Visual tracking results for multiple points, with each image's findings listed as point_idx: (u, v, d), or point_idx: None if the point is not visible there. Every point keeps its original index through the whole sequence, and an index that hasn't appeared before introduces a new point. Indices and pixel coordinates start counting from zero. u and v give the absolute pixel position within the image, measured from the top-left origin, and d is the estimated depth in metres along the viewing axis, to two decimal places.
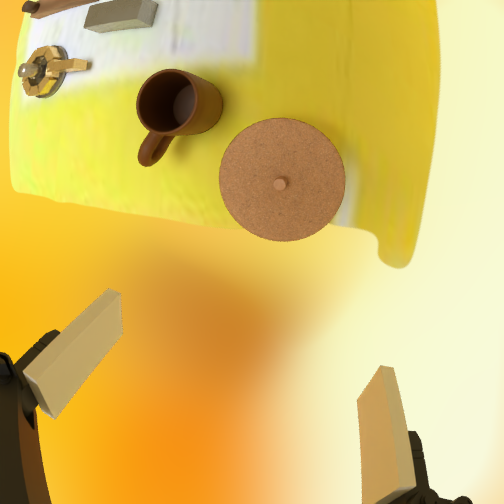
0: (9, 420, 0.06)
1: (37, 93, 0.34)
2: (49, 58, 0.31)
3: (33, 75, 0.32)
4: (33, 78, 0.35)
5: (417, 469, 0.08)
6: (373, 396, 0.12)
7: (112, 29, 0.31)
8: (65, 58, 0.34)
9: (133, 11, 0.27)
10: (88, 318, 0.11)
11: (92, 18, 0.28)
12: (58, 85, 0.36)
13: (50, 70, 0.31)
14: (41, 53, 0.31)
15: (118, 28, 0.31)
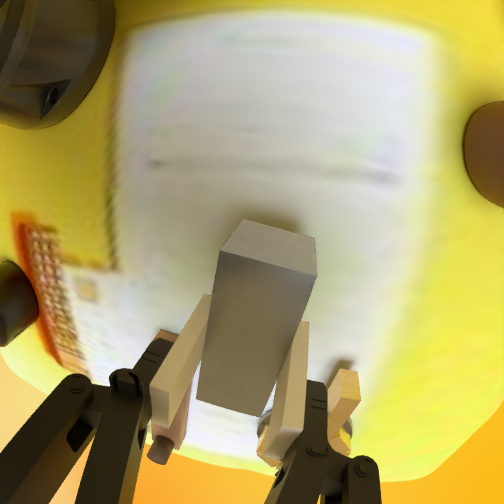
0: (120, 441, 0.07)
1: (347, 453, 0.23)
2: None
3: None
4: None
5: (315, 418, 0.10)
6: None
7: None
8: None
9: (279, 287, 0.12)
10: (198, 324, 0.13)
11: (241, 398, 0.15)
12: None
13: (330, 438, 0.21)
14: None
15: None
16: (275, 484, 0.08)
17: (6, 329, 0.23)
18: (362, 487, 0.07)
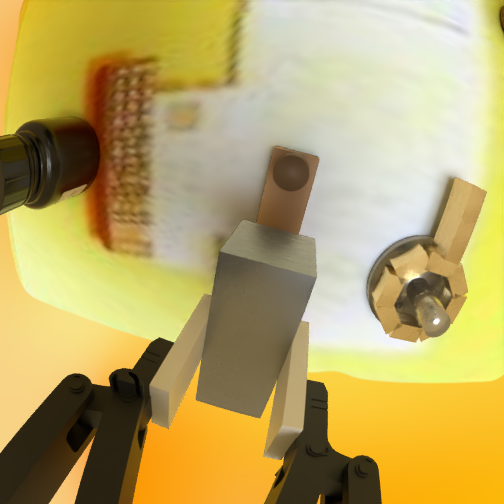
0: (120, 441, 0.07)
1: (464, 298, 0.22)
2: (422, 265, 0.22)
3: None
4: (416, 318, 0.25)
5: (316, 418, 0.10)
6: None
7: None
8: (418, 238, 0.24)
9: (279, 288, 0.12)
10: (198, 324, 0.13)
11: (241, 399, 0.15)
12: None
13: (461, 253, 0.20)
14: (396, 290, 0.23)
15: None
16: (275, 484, 0.08)
17: (60, 172, 0.21)
18: (362, 487, 0.07)
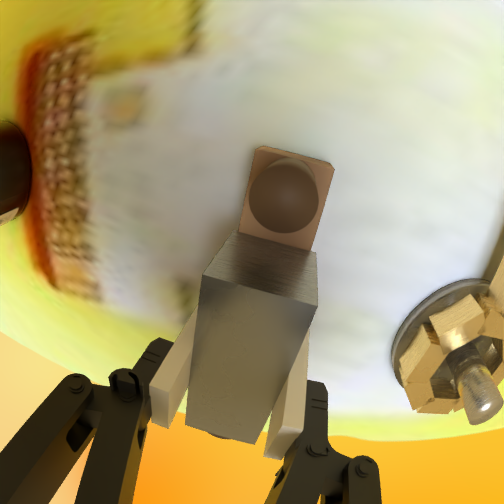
0: (120, 441, 0.07)
1: None
2: (475, 329, 0.13)
3: None
4: (451, 384, 0.17)
5: (316, 418, 0.10)
6: None
7: None
8: (469, 284, 0.15)
9: (273, 317, 0.10)
10: None
11: (233, 426, 0.13)
12: None
13: None
14: (435, 362, 0.14)
15: None
16: (275, 484, 0.08)
17: None
18: (362, 487, 0.07)
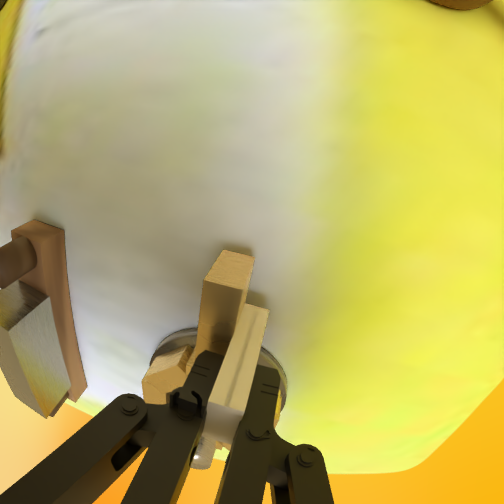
0: (173, 460, 0.07)
1: (274, 420, 0.16)
2: (179, 379, 0.16)
3: None
4: None
5: (264, 403, 0.10)
6: None
7: (57, 369, 0.18)
8: (196, 333, 0.18)
9: (0, 333, 0.13)
10: (244, 335, 0.13)
11: (29, 401, 0.16)
12: (270, 361, 0.18)
13: None
14: (160, 398, 0.17)
15: (53, 360, 0.18)
16: (224, 471, 0.08)
17: None
18: (307, 478, 0.07)
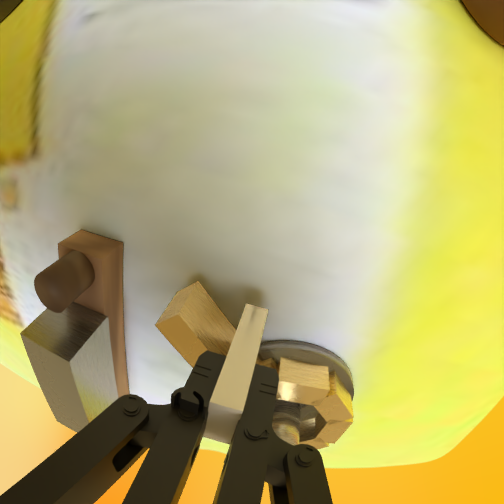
0: (175, 460, 0.07)
1: (334, 396, 0.16)
2: None
3: (298, 436, 0.16)
4: (313, 422, 0.19)
5: (262, 403, 0.10)
6: None
7: (109, 390, 0.18)
8: (276, 347, 0.18)
9: (54, 363, 0.13)
10: (246, 335, 0.13)
11: (78, 427, 0.16)
12: (344, 367, 0.18)
13: None
14: None
15: (107, 381, 0.18)
16: (223, 471, 0.08)
17: None
18: (305, 477, 0.07)
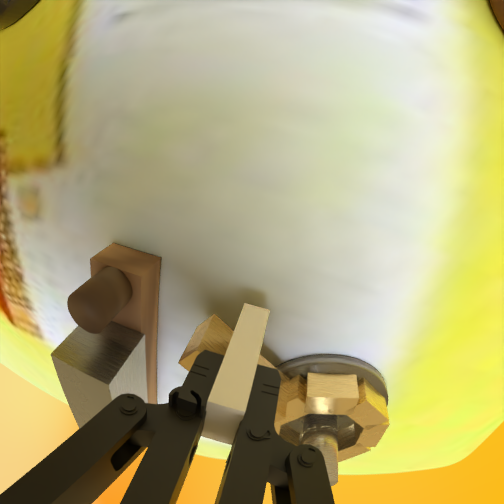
0: (173, 460, 0.07)
1: (365, 403, 0.15)
2: None
3: (337, 447, 0.15)
4: (353, 428, 0.18)
5: (264, 403, 0.10)
6: None
7: None
8: (317, 361, 0.18)
9: (90, 385, 0.13)
10: (244, 335, 0.13)
11: None
12: (381, 379, 0.17)
13: None
14: None
15: None
16: (225, 472, 0.08)
17: None
18: (308, 478, 0.07)
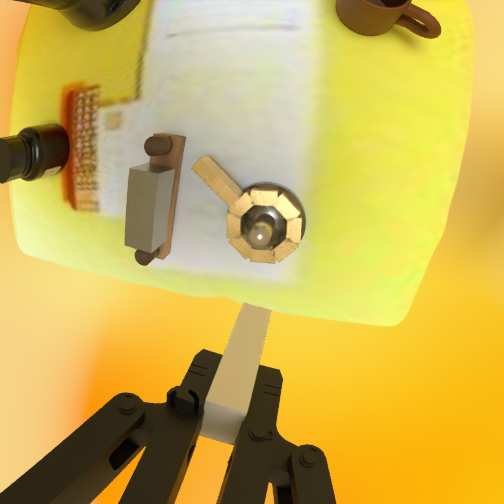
0: (171, 459, 0.07)
1: (281, 196, 0.34)
2: (234, 219, 0.36)
3: (271, 228, 0.34)
4: (286, 234, 0.37)
5: (266, 404, 0.10)
6: None
7: (165, 220, 0.37)
8: (259, 183, 0.36)
9: (148, 179, 0.32)
10: (242, 334, 0.13)
11: (142, 239, 0.35)
12: (296, 197, 0.36)
13: (232, 193, 0.34)
14: (243, 243, 0.37)
15: (165, 211, 0.37)
16: (227, 472, 0.08)
17: (43, 157, 0.34)
18: (310, 478, 0.07)
